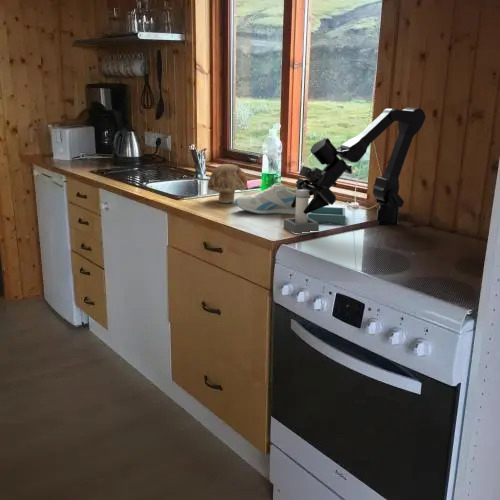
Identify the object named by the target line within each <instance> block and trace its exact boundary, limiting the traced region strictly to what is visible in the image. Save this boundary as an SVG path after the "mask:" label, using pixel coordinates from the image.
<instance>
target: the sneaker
mask: <svg viewBox="0 0 500 500" xmlns="http://www.w3.org/2000/svg"><path fill="white" fill-rule="evenodd" d="M296 190H297V188H292V187H287V186H286V185H285V184H283V183H281V182H277V183H274V184H272V185H271V186H269V187H268V188H265V189H263V190H261V191H259V192H256V193H254V194H251V195H250V194H249V195H244V196H237V198H235V199H234V203H235V206H237V207H238V208H239V209H241V210H243V211H246V212H250V213H255V214H256V215H257V214H258V215H259V214H260V215H269V214H272V215H273V214H281V215H294V216H295V213H296V207H294V208H292V207H291V204H292V202H293V200H294V198H295V196H296Z"/></svg>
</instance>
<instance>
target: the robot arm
mask: <svg viewBox="0 0 500 500" xmlns="http://www.w3.org/2000/svg"><path fill="white" fill-rule="evenodd" d="M425 121H426V113H425V111H424V110H423V109H422V108H417V107H405V108H404V109H397V108H389V107H388V108H385V109H384V110H383V111H382V112H381V114H379V115H378V116H377V117H376V118H374V120H373V121H372V122H371V123H369V125H367V127H366V128H365V129H363V130H362V131H361V132H360V133H359V134H357V136H354V137H352V138H350V139H348V140H346V141H345V142H344V143H341V145H340V146H336V147H335V146H334V144H333V143H332V142H331V140H330V138H328V137H323V139H320V140H318V141H317V142H316V143H314V144H313V145H312V146H311V148H310V151H309V152H310V153H311V154H312V155H313V157H315V159H316V160H317V161H318V162H319V163H320V164H321V165H322V166H323V165H326V166H325V167H324V168H323V169H320V168H318V167H316V166H314V167H312V168H310V167H307V166H305V165H302V167H301V169H300V171H299V173H298V175H299V176H301V177H300V178H298V179H297V180H296V181H295V183H296V189H297V190H298V189H306V190H309V199H310V198H311V196H313V197H312V199H311V200H310V202H308V206H307V207H306V208H305V210H304V211H303V212H304V213H305V214H307V213H310V212H312V211H314V210H317V209H319V208H322V207H329V205H331V206H333V205H334V203H335V202H336V201H337V196H336V194H335V193H334V192H333V191H332V190H331V188H332V187H336V186H337V185H338V183H337V181H338V180H339V179H340V178H341V176H342V175H343V174H345V173H346V174H350V175H352V174H353V171H352V167H353V166H352V165H351V164H347V162H349V163H358V162H359V161H360V160H361V159H362V158H363V157H364V155H366V152H367V150H368V148H369V146H370V144H372V143H373V142H375V140H376V139H377V138H378V137H379V136H380V135H381V134H382V133H384V132H385V131H386V130H387V129H388V128H389V127H390V126H391V125H392V124H393V123H394V122H397V127H398V129H397V130H398V133H397V137H396V140H395V142H394V143H395V144H394V146H393V148H392V152H391V153H390V157H389V160H388V163H387V165H386V168H385V171H384V173H383V174H382V176H380V177H379V176H377V177H376V178H375V181H374V184H373V185H372V187H371V188H372V195H373V197H374V198H375V201H376V203H377V204H379V207H378V208H377V212H376V221H377V223H378V224H379V225H391V226H399V221H398V220H399V211H400V210H399V209H400V208H402V207H403V205H404V203H405V201H404V200H403V198H402V197H401V195H399V192H400V180H399V179H400V174H401V171H402V170H403V166H404V164H405V161H406V158H407V155H408V152H409V150H410V146H411V144H412V141H413V139H414V137H415V136H416V134H417V133H418V132H419V131H420V130H421V129H422V127H423V125H424V123H425ZM303 177H304V178H303ZM291 207H292V208H294V207H296V196H295V198H294V200H293V202H292V204H291Z"/></svg>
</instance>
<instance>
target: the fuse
mask: <svg viewBox="0 0 500 500" xmlns="http://www.w3.org/2000/svg"><path fill="white" fill-rule="evenodd" d="M309 199H310V198H309V190H306V189H298V190H296V213H295V215H294V218H295V223H296V224H302V223H307V222H308V213H307V214H305V213H304V212H303V211H304V210H305V208H306V207H307V206H308V204H309Z"/></svg>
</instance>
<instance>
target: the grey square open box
mask: <svg viewBox="0 0 500 500" xmlns="http://www.w3.org/2000/svg"><path fill="white" fill-rule="evenodd" d="M283 228H284V229H285V228H286V229H285V230H287V229H288V230H290V231H292V232H294V233H302V232H310V231H320V223H318V222H316V221H314V220H312V219H310V218H308V222H307V223H302V224H296V223H295V217H293V218H292V217H291V218H284V219H283ZM288 230H287V231H288ZM290 231H289V232H290ZM292 232H291V233H292ZM294 233H293V234H294ZM302 234H303V233H302Z"/></svg>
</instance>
